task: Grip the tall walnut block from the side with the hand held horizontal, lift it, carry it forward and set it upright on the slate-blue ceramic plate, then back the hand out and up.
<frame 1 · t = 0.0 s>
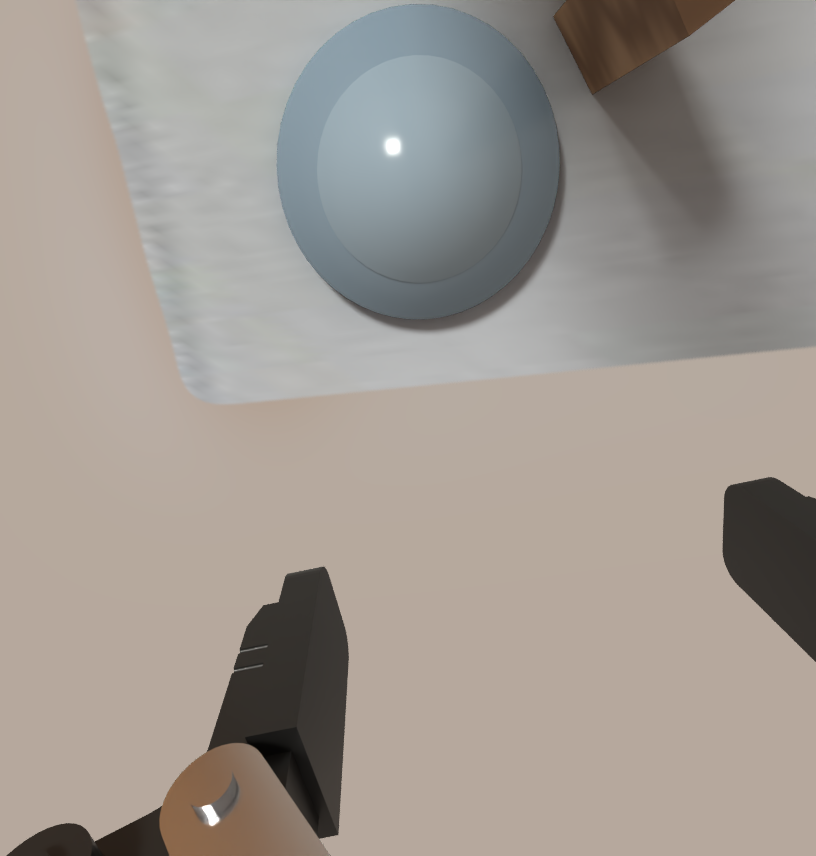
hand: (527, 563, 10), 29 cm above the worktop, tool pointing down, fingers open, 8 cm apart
walnut block: (608, 28, 32), on the worktop
slate plate: (418, 178, 34), on the worktop
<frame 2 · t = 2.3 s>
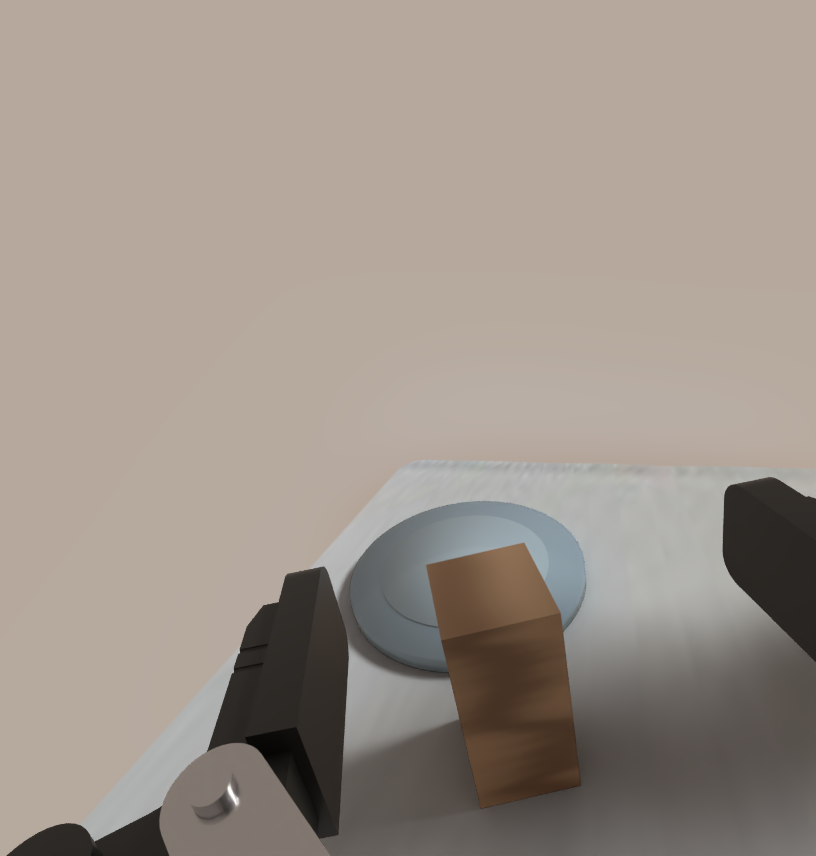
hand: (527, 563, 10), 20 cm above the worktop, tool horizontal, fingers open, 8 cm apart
walnut block: (516, 748, 28), on the worktop
slate plate: (465, 577, 41), on the worktop
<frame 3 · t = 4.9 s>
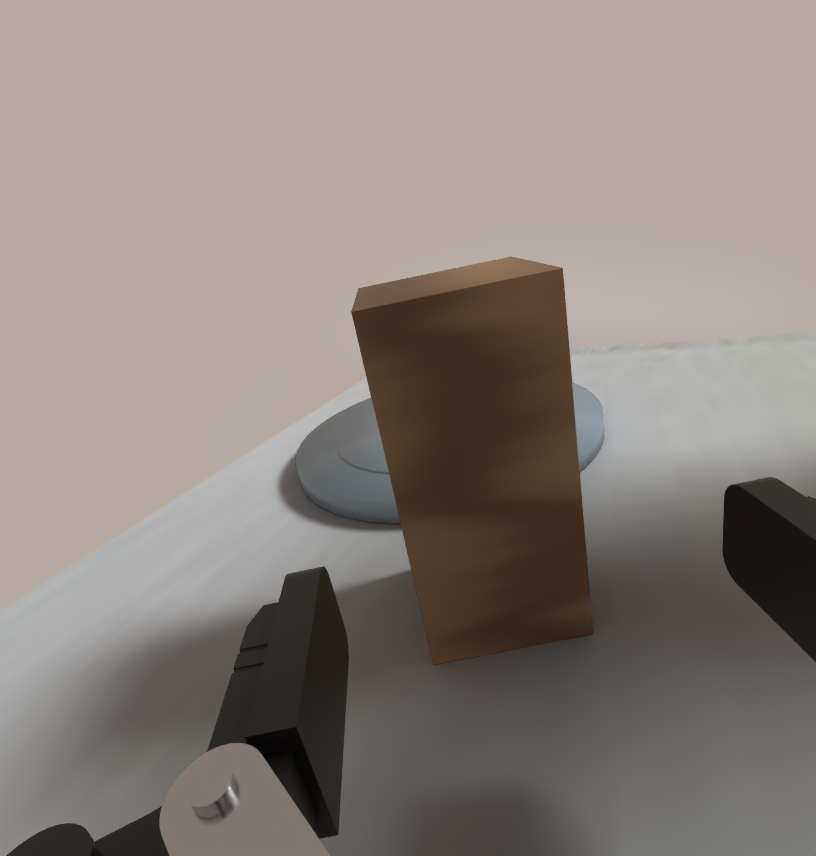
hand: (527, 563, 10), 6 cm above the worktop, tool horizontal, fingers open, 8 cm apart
walnut block: (495, 596, 18), on the worktop
slate plate: (446, 440, 32), on the worktop
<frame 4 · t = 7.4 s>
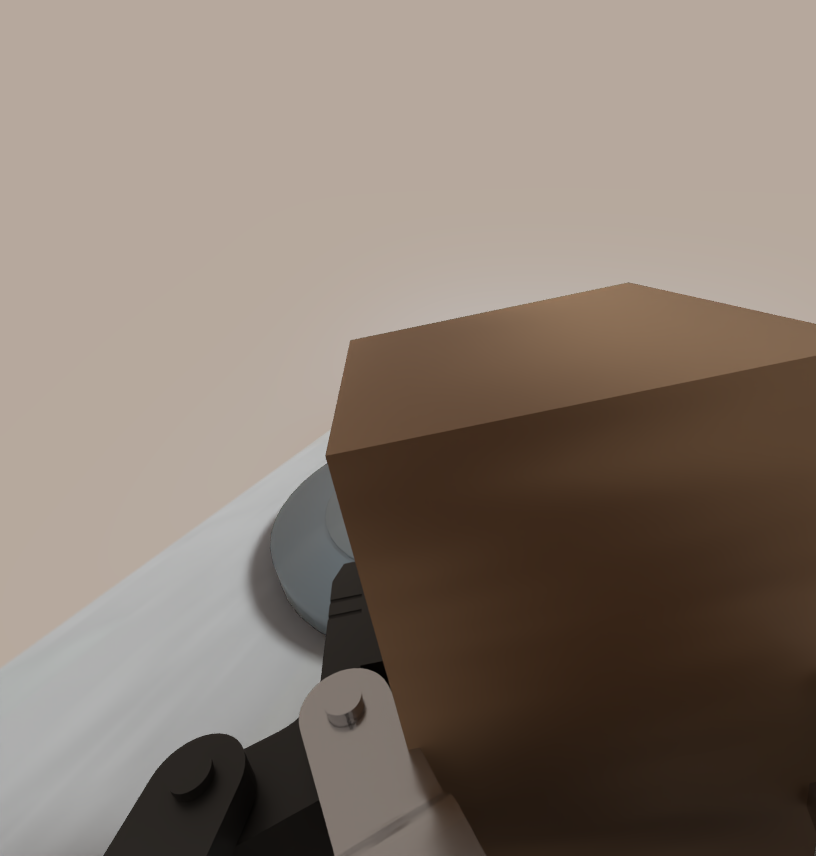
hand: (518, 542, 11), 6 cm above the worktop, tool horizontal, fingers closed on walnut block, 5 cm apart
walnut block: (585, 853, 11), on the worktop, touching gripper
slate plate: (470, 507, 24), on the worktop
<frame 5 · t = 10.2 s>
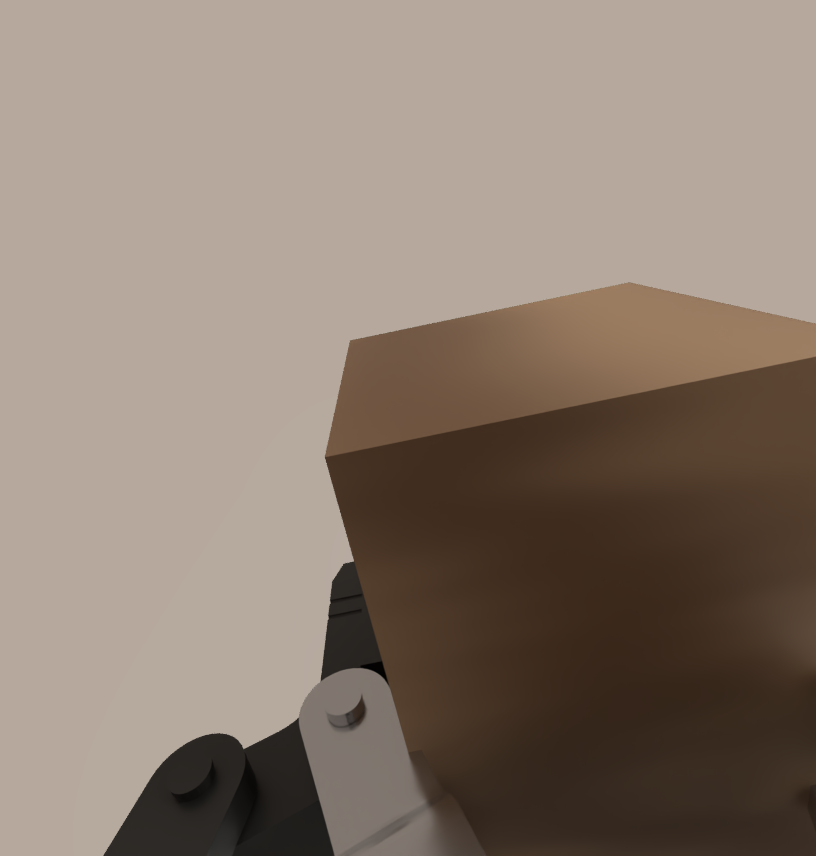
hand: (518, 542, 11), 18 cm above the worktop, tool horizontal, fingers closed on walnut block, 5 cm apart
walnut block: (585, 854, 11), point 12 cm above the worktop, touching gripper
when the fingers open (8 cm above the worktop, at t = 13.2 s): walnut block stays where it is, resting on slate plate.
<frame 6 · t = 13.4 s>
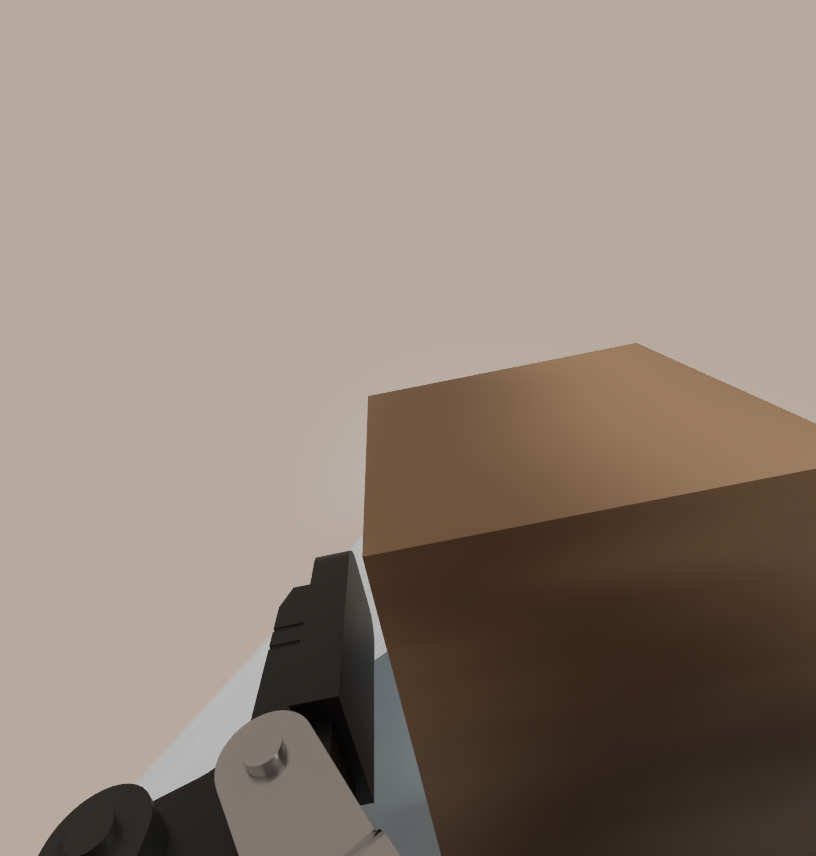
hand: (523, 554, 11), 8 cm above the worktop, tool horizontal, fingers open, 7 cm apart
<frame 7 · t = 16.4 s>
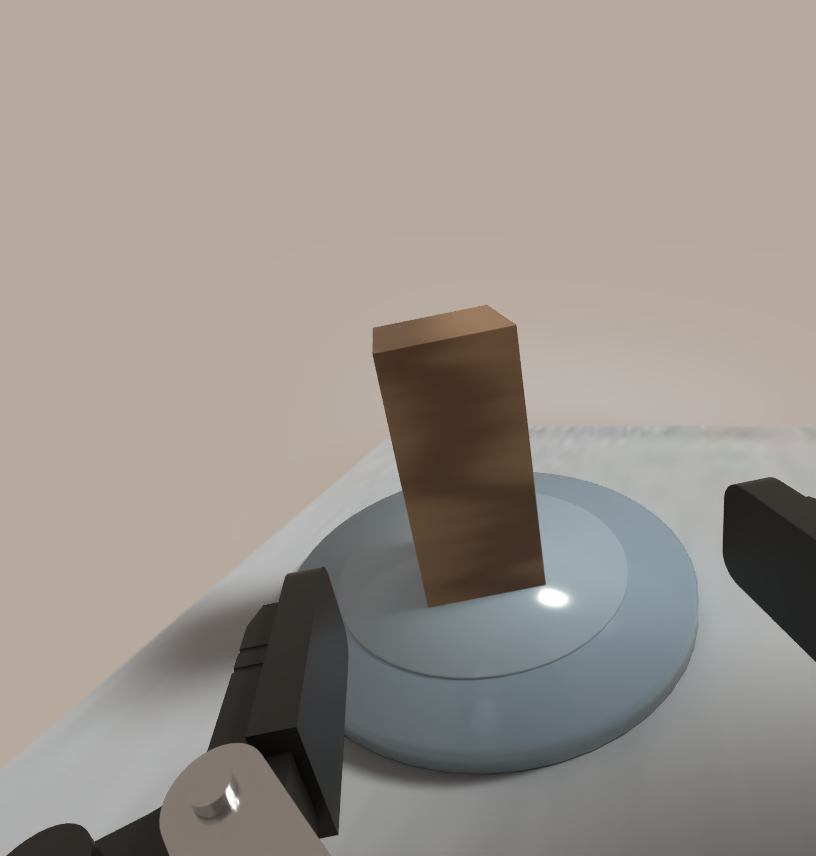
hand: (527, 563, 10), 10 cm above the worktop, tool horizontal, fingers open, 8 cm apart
walnut block: (476, 560, 24), point 1 cm above the worktop, touching slate plate
slate plate: (479, 584, 25), on the worktop
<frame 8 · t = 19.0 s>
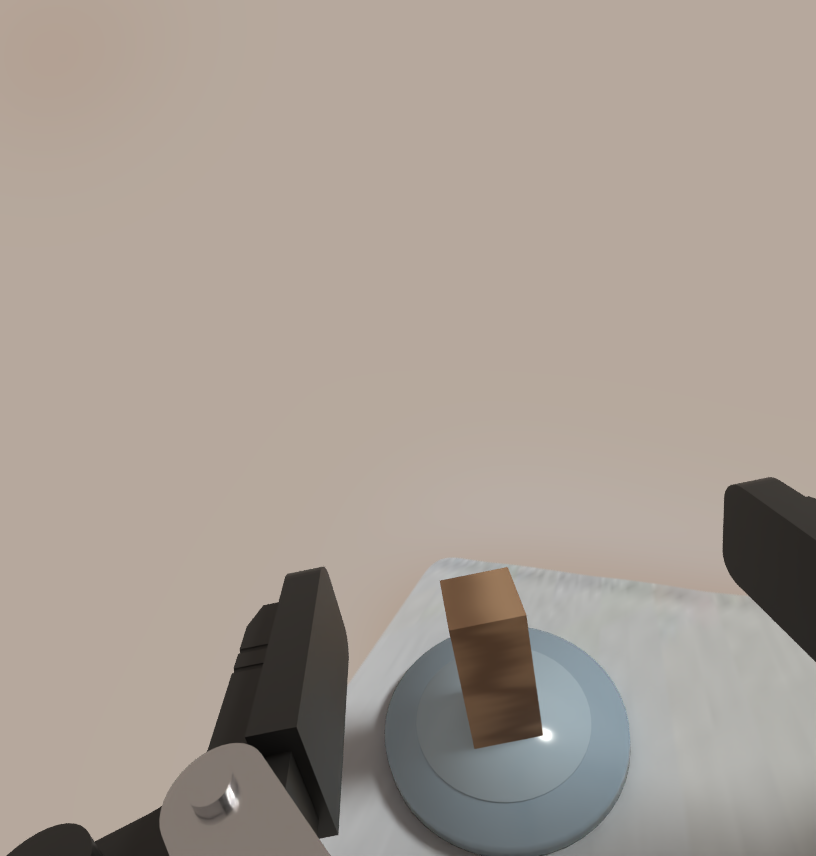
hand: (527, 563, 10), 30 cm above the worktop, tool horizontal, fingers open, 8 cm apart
walnut block: (500, 711, 40), point 1 cm above the worktop, touching slate plate
slate plate: (502, 724, 40), on the worktop
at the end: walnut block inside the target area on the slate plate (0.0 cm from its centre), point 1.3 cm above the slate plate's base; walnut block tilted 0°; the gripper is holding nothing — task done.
